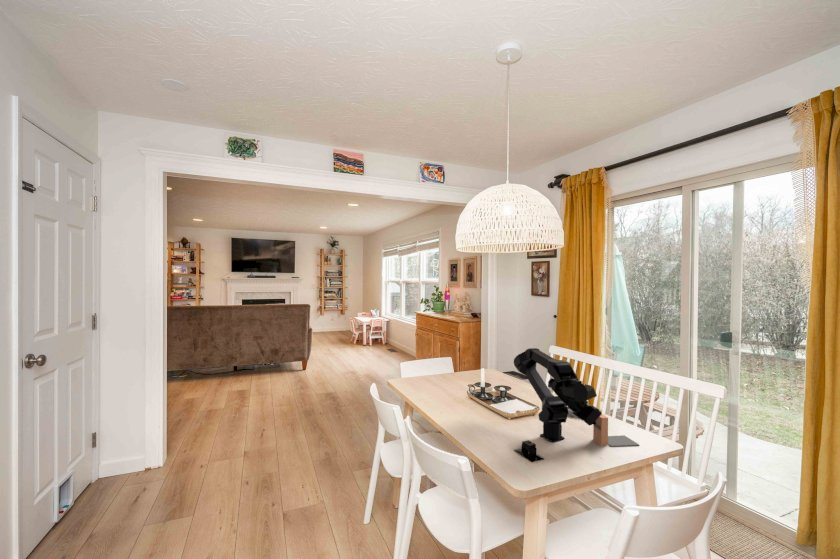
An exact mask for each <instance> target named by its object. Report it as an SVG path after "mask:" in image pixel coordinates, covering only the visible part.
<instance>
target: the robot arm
mask: <svg viewBox="0 0 840 559" xmlns="http://www.w3.org/2000/svg"><path fill="white" fill-rule="evenodd" d="M513 364H514V367H515V368H516V370H517V371H518V372H519V373H521V374H523V375H524V376H526V378H527V380H528V381H529V384H530V385H531V386H532V388H533V389H534V392H535V393H536V394H537V397H538V399H540V401H541V411H540V412H539V413H538V421H540V422H542V424H543V425H542V426H543V429H542V431H543V432H542V433H540V434H539V436H540V437H542V438H544V439H546V440H547V441H549V442H552V443H556V442H558V441H559V442H560V441H562V440H565V437H564V436H562V431H563V430H562V428H563V427H562V426H563V425H562V424H563V423H564V424H565V423H566V422H567V420H568V416H569V412H568V409H570V410H572V411H573V414H574V415H576V416H577V417H578V418H577V419H579V420H581V421H583V422H584V423H585V424H586V425H588V426H593V425H595V424H596V420H597V419H598V418H599V417H600V416H601V415H602V414H603V413H602V411H601V410H600V409H599V408H597V407H596V406H594V405H590V404H588V403H589V402H588V401H589V400H591V399H593V398H596V397H598V395H597V392H596V390H595V388H594V386H592V385H590V384H586V383H585V384H584V383H583V381H582V380H579V378H578V375H577V374H576V372H575V370H574V368H573V366H572V365H571V363H570V362H569V361H566V360H562V359H556V358H554V357H552V356H550V355H549V354H546V353H545V352H543V351H541V350H540V349H539V348H535V347H533V348H526V349H525V350H524V351H523V352H520V353H518V354H517V355H516V356H515V357H514V359H513ZM537 364H538V365H540V366H541V367H543V368H545V369H546V371H547V374H549V375H550V376H551V377H550V379H549V380H548V381H547V384H546V382H545V381H544V379H543V377H542V376H541V375H540V374H539V372H538V371H537ZM550 389H551V390H552V391H553V392H554V393H555V394H556V395H554V394H553V393H552V391H551V390H550ZM587 404H588V405H587Z"/></svg>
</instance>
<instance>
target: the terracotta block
mask: <svg viewBox="0 0 840 559" xmlns="http://www.w3.org/2000/svg"><path fill="white" fill-rule="evenodd" d="M592 426H593V428H592V429H593V434H592V436H593V437H592V439H593V441H594V442H596V443H597V444H598V445H600V446H609V445H608V436H609V417H607V416H606V415H605V414H603V413H602V415H601V416H600V417H599V418H598V419H597V420H596V424H595V425H593V424H592Z"/></svg>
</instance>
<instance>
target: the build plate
mask: <svg viewBox="0 0 840 559" xmlns="http://www.w3.org/2000/svg"><path fill="white" fill-rule="evenodd" d="M513 451H514V452H515V453H517V454H519V455H520V456H521V457H523V458H525V459H526V460H528V461H529V462H530V463H535V462H539V461H543V460H545V458H544V457H542V456H540V455H539V454H537V444H536V443H534V442H533V441H531V440H529V439H527V440H523V441H522V442H521V448H516V449H513Z"/></svg>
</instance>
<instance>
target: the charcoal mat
mask: <svg viewBox="0 0 840 559" xmlns="http://www.w3.org/2000/svg"><path fill="white" fill-rule="evenodd" d="M607 446H609V447H611V448H615V447H618V448H620V447H639V446H640V444H639V443H638V442H636V441H634V440H632V439H631V438H629V437H628V436H626V435H624V434H623V435H608V445H607Z"/></svg>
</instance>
